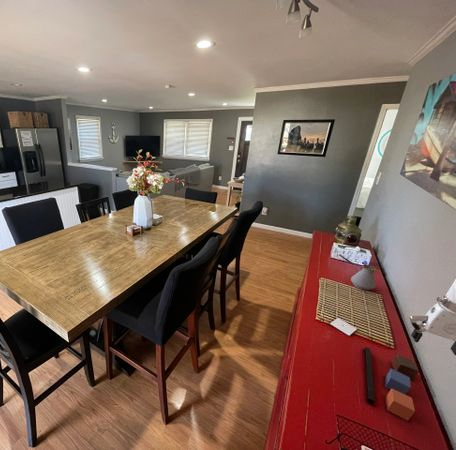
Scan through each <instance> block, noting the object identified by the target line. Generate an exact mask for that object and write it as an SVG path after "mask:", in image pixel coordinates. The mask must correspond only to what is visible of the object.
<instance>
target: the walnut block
mask: <svg viewBox="0 0 456 450" xmlns="http://www.w3.org/2000/svg"><path fill="white" fill-rule="evenodd" d="M390 364H391V367H392V369H393V370H395V371H397V372H399V373H401V374H403V375H406V376H408V377H410V381H413V380H414V379H415V377H416V376H417V375H418V373H419V371H420V370H419V369H418V366H417V364H416V362H415V360H414V359H411V358H409V357H405V356H402V355H400V354H397V353H396V355H395V356H394V357H393V359H392V361H391V362H390Z"/></svg>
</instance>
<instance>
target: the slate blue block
mask: <svg viewBox="0 0 456 450" xmlns="http://www.w3.org/2000/svg"><path fill="white" fill-rule="evenodd" d="M384 387H385V388H386V389H388V390H389V391H390V390H391V388H392V389H394V390H396V391H398V392H400V393H403V394H405V395H407V394H408V393H409V391H410V390H411V379H410V377H408V376H406V375H403V374H401V373H399V372H397V371H395V370H394V369H393V368H390V369H389V370H388V372H387V374H386V376H385V381H384Z"/></svg>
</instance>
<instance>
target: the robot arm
mask: <svg viewBox="0 0 456 450" xmlns="http://www.w3.org/2000/svg"><path fill="white" fill-rule="evenodd" d="M436 301H437V303H435V304H434V305H433V306H432V307H431V308H430V309H429V310H428V311H427V312H426V314H425V315H410V316H409V320H410V324H411V325H412V327H413V328H414V329H413V331H412V332H411V338H412V339H413V341H414V342H415V343H419V341H420V340H421V339H422V337H423V336H424V335H423V333H425V332H428V334H429V333H430V334H432V335H435V336H438V337H441V338H444V339H448V340H451V341H454V342H453V344H452V345H451V346H450V350H451V352H452V353H453V355H454V356H456V278H455V279H454V281H453V282H452V284H451V286H450V287H449V288H448V290H447V291H446V294H445V295H443V297H439V296H438V297H437V298H436ZM418 322H420V323H418Z"/></svg>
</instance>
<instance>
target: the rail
mask: <svg viewBox="0 0 456 450" xmlns="http://www.w3.org/2000/svg"><path fill="white" fill-rule="evenodd" d="M363 360H364V375H365V393H366V395H365V396H366V403H367V404H369V405H372V406H373V405H374V404H375V387H374V377H373V366H372V355H371V348H370V347H367V346H365V347H364V349H363Z"/></svg>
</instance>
